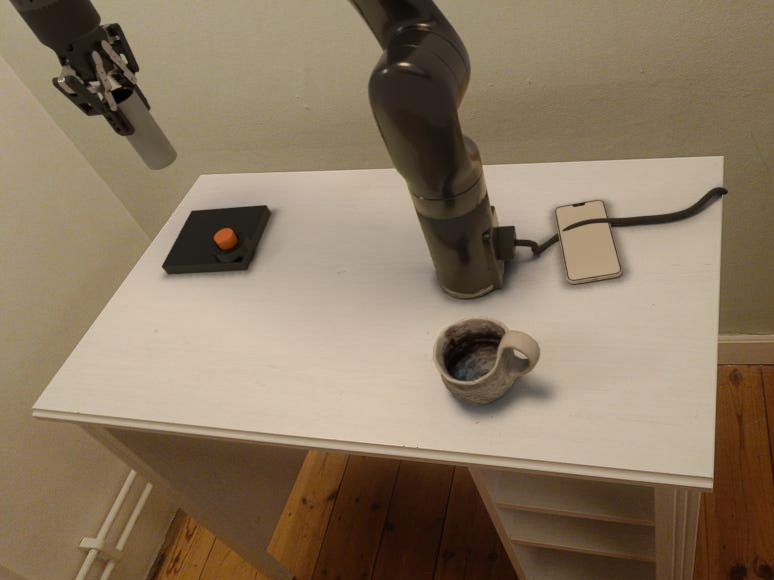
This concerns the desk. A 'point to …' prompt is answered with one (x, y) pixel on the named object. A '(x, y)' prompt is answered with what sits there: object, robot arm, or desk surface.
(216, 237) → the button
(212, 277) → the desk surface
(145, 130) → the grey cylinder
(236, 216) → the dark grey flat block
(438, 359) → the mug
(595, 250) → the smartphone
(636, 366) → the desk surface
